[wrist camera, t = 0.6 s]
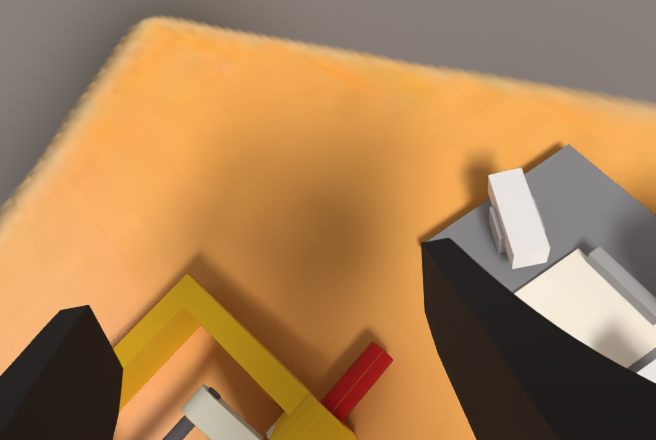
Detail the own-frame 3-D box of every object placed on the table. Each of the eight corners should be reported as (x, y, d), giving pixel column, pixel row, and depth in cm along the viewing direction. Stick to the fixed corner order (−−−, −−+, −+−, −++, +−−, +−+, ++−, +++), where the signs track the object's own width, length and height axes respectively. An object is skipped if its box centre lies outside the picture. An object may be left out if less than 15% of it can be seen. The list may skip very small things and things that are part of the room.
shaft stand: (885, 421, 24) (951, 405, 20) (690, 572, 23) (726, 581, 19) (566, 153, 34) (576, 113, 30) (423, 252, 33) (416, 222, 29)
